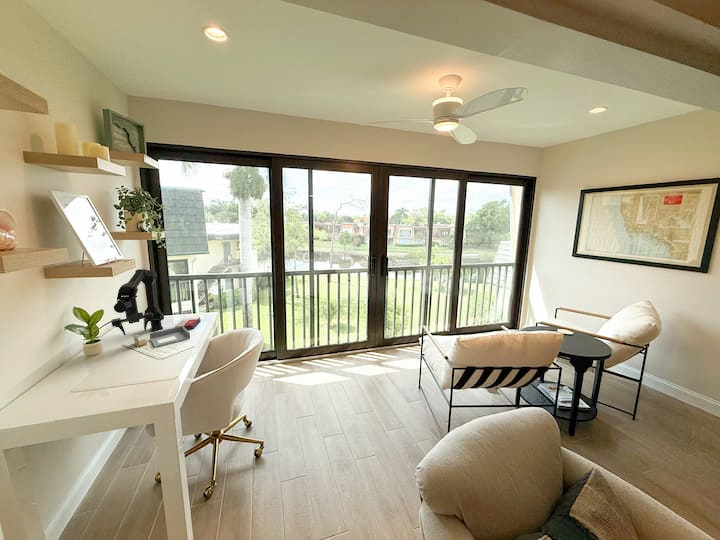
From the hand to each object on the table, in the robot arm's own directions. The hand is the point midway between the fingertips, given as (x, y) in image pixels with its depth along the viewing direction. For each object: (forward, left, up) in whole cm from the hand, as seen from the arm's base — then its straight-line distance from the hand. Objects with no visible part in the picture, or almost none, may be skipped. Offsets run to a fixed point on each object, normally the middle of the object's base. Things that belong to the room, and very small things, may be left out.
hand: (135, 333), depth 168 cm
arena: (+4, +16, -7) cm, 18 cm away
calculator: (-12, +29, -8) cm, 33 cm away
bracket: (0, +2, -8) cm, 8 cm away
